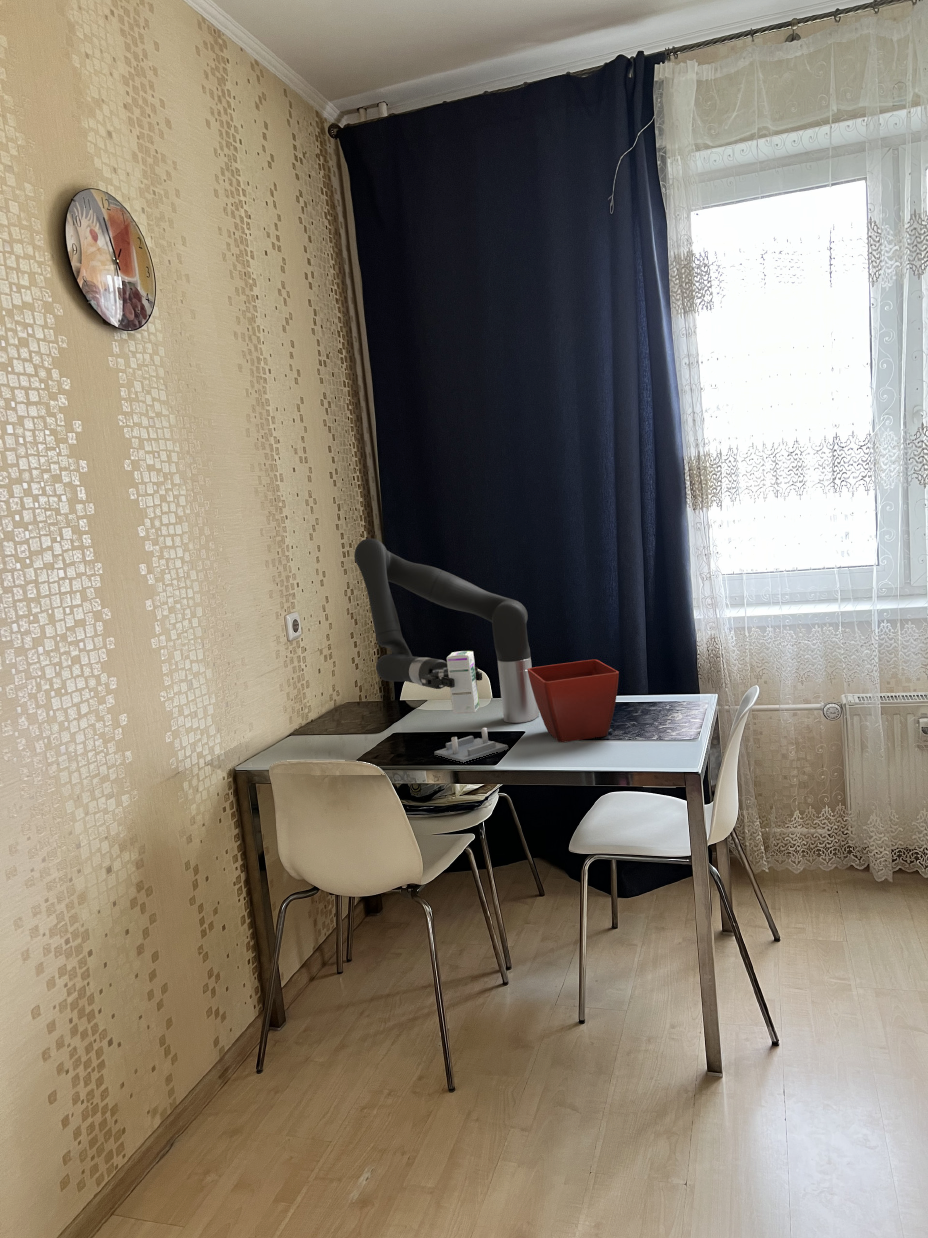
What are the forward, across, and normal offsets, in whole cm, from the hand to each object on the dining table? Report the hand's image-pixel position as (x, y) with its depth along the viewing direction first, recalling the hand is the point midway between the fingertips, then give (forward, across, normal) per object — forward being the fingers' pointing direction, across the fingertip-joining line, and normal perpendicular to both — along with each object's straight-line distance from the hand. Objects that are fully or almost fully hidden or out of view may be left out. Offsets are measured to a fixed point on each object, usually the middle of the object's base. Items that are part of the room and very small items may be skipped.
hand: (467, 679), depth 222 cm
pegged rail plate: (-2, 0, +19) cm, 19 cm away
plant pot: (+9, +26, +19) cm, 34 cm away
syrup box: (-2, 0, +8) cm, 8 cm away
